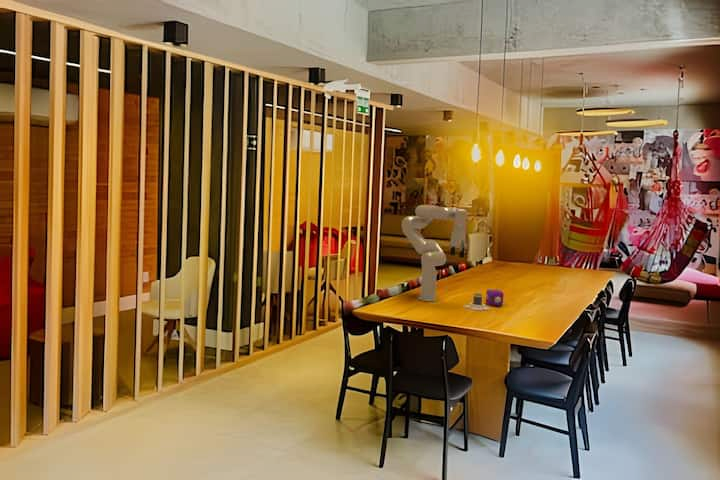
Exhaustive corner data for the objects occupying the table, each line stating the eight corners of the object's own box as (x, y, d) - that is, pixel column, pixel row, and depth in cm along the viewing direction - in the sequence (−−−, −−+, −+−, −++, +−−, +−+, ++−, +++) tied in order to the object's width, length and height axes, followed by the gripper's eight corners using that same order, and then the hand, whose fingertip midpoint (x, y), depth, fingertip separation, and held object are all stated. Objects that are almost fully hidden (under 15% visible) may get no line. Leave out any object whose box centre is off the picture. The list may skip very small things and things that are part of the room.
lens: (471, 306, 391) (472, 293, 390) (478, 306, 393) (479, 293, 393) (476, 308, 386) (477, 295, 386) (483, 307, 389) (484, 294, 388)
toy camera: (492, 307, 396) (493, 292, 396) (482, 303, 410) (483, 288, 409) (507, 307, 399) (508, 292, 398) (497, 303, 412) (498, 288, 412)
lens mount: (463, 307, 393) (463, 302, 393) (479, 306, 398) (479, 301, 398) (474, 311, 382) (475, 306, 382) (490, 310, 387) (491, 305, 387)
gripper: (446, 227, 394) (444, 254, 396) (462, 230, 379) (460, 258, 381) (456, 227, 398) (454, 254, 400) (472, 230, 382) (470, 258, 384)
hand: (456, 256), depth 390 cm, fingers open, 9 cm apart
